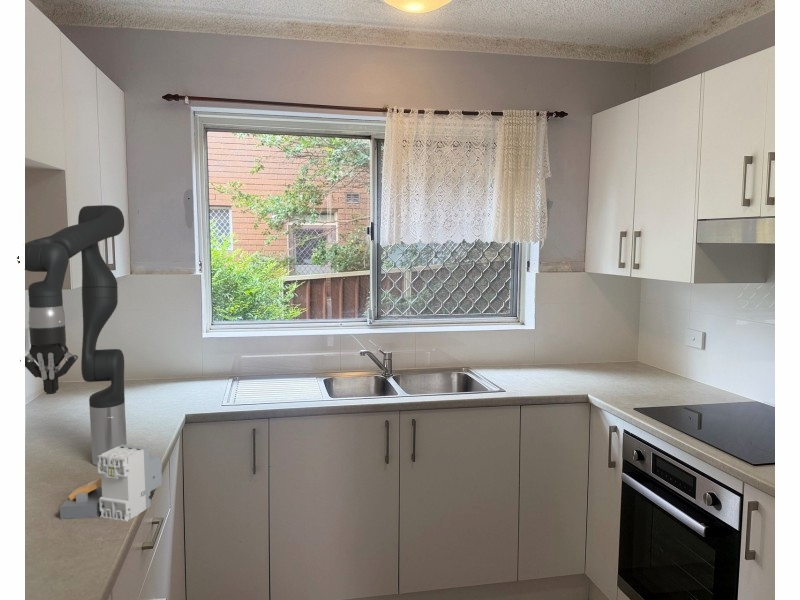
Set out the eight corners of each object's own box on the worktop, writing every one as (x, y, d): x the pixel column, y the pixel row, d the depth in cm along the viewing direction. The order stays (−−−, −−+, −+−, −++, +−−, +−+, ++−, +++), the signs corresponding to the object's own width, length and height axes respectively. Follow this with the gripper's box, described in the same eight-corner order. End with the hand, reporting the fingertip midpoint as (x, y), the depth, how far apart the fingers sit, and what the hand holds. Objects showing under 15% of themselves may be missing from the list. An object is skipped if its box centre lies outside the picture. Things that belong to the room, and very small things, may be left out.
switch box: (79, 499, 143) (78, 480, 143) (112, 498, 144) (111, 479, 144) (60, 519, 134) (59, 498, 133) (96, 517, 135) (95, 496, 134)
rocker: (79, 494, 140) (75, 488, 140) (105, 482, 141) (101, 476, 141) (71, 502, 136) (68, 495, 136) (98, 489, 137) (94, 483, 137)
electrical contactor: (167, 495, 146) (165, 438, 145) (126, 521, 133) (123, 459, 131) (142, 491, 148) (140, 435, 147) (100, 517, 135) (97, 455, 133)
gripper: (82, 322, 145) (85, 388, 146) (26, 322, 143) (30, 390, 145) (69, 326, 137) (72, 396, 139) (9, 327, 136) (14, 398, 137)
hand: (51, 393), depth 142 cm, fingers closed
